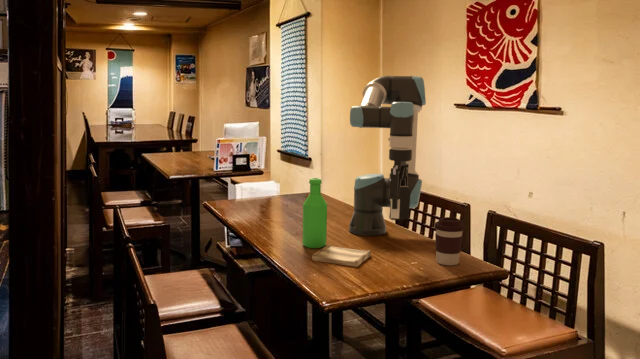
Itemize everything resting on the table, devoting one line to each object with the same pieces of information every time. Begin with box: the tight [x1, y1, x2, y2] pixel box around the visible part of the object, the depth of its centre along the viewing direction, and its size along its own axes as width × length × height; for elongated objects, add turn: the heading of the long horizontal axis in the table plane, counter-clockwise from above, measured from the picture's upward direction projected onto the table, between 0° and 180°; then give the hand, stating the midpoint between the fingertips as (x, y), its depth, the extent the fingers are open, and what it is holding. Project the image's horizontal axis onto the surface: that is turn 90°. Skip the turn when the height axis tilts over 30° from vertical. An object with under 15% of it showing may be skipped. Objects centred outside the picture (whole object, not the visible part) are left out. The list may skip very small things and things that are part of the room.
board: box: [311, 244, 372, 268], centre depth 197 cm, size 14×16×2 cm
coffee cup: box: [433, 216, 466, 267], centre depth 193 cm, size 10×10×15 cm
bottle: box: [302, 177, 328, 249], centre depth 210 cm, size 9×9×25 cm
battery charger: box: [388, 186, 410, 221], centre depth 195 cm, size 7×4×11 cm, turn 110°
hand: (398, 215), depth 196 cm, fingers closed on battery charger, 7 cm apart
